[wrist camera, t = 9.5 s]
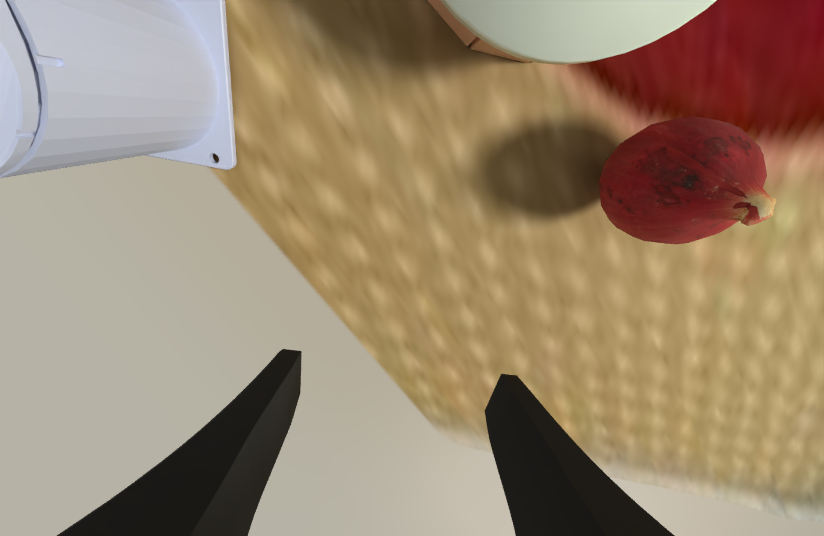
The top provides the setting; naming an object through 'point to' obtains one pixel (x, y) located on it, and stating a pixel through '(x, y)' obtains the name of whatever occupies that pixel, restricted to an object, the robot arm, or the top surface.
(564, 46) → the lid
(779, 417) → the top surface
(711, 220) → the onion
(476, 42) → the bowl
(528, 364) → the top surface
